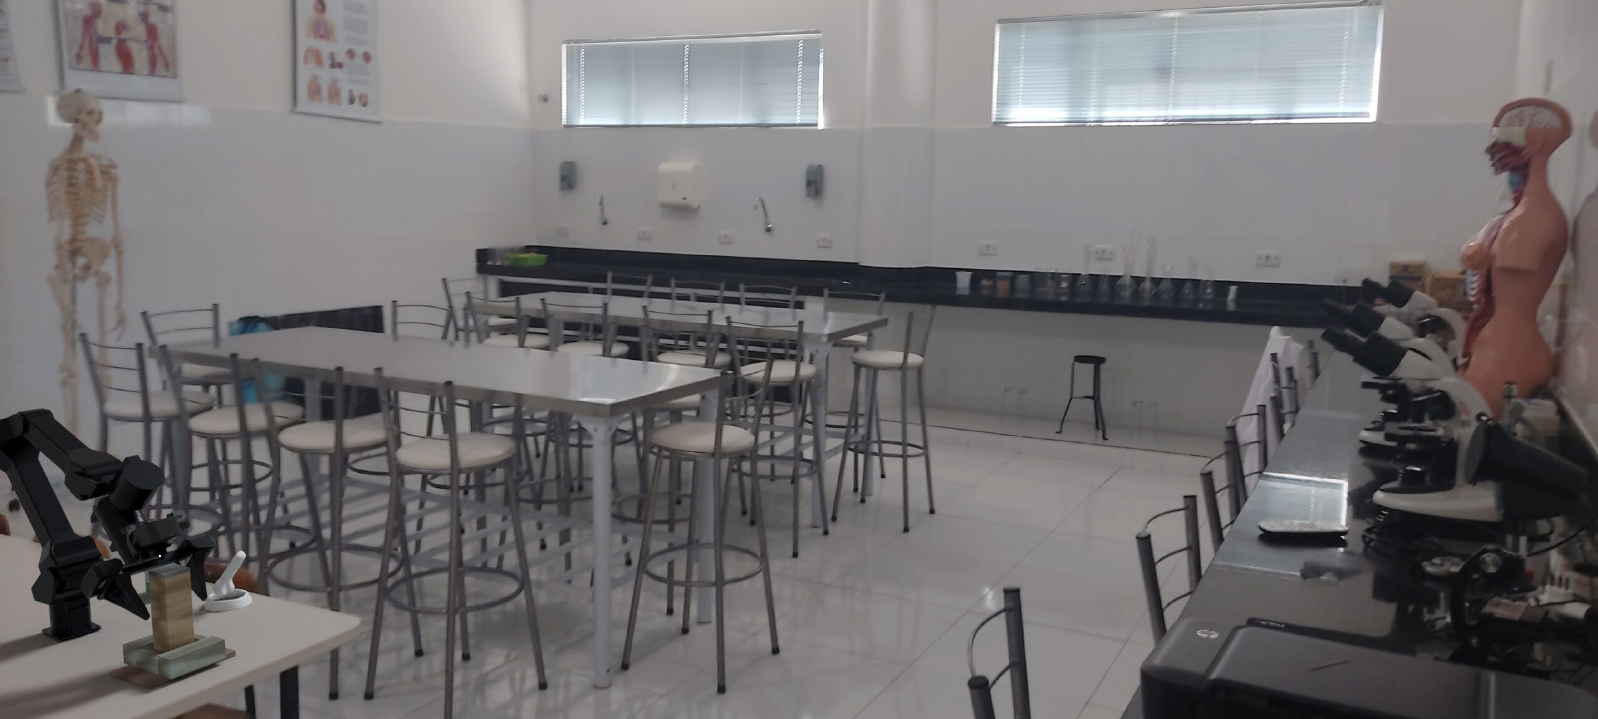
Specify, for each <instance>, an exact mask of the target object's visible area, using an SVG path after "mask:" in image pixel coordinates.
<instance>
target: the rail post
mask: <svg viewBox="0 0 1598 719" xmlns="http://www.w3.org/2000/svg"><path fill="white" fill-rule="evenodd" d="M148 573H149V587H150V595H149V598H150V599H149V600H150V613H151V615H150V617H151V628H152V634H153V644H154V653H157V654H160V655H161V654H163V653H166V652H169V651H172V650H174V649H177V648H180V647H183V646H185V645H188V644H191V643H194V642H195V639H194V633H195V624H194V611H193V596H192V590H191V577H190V568H189V567H185V566H182V565H178V564H174V563H173V564H170V565H166V566H163V567H159V568H156V569H153V570H149V571H148Z"/></svg>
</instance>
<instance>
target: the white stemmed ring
mask: <svg viewBox="0 0 1598 719" xmlns="http://www.w3.org/2000/svg"><path fill="white" fill-rule="evenodd" d="M246 556H247V554H246V553H245V552H244V551H243V550H239V551H238V552H237V553H236V554H235V555H234V556H233V558H232V559H231V561H230V562H229V564H228V565H227V567H226V569H225V570H224V572H223V573H222V574H221V576H220V578H219V579H217V581H215V584H214V585H212V588H211V590H212V592H213V593H211V594H210V595H209V594H208V598H207V599H206V601H204V602H205V603H204V605H203V608H204V610H206V611H208V610H211V611H210V612H216V611H219V612H220V611H222V612H230V610H231V611H235V610H240V609H243V608H245V607H247V605H248V606H250V603H251V604H252V603H253V598H252V596H251V595H250V592H248V591H247V590H245V589H240V588H235V585H234V583H233V578H234V576H235V574H236V573H237V571H238V570H239V569H240V567H241V566H242V564H243V562H244V561H245V558H246ZM225 597H228V598H235V599H229V600H221V598H222V599H226V598H225ZM217 599H218V600H217ZM214 600H215V601H214ZM219 612H218V613H219Z"/></svg>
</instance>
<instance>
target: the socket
mask: <svg viewBox="0 0 1598 719" xmlns="http://www.w3.org/2000/svg"><path fill="white" fill-rule="evenodd" d="M194 639H195V642H194V643H191V644H188V645H185V646H183V647H180V648H177V649H174V650H172V651H169V652H166V653H163V654H161V655H160V654H157V653H154V644H153V633H152V634H148V635H146V636H142V637H141V638H136V639H134V640H132V641H127V642H126V643H123V644H122V656H123V658H122V659H123V664H126V665H125V666H122V667H119V668H116V669H114V670H112V671H111V672H112V674H111V675H112V677H115V678H117V679H120V680H123V681H126V682H129V683H131V684H134V685H138V686H140V687H143V688H146V689H149V690H150V689H153V688H155V687H158V686H160V685H164V684H165V683H168V682H171V681H173V680H174V681H175V680H176V679H179V678H181V677H184V676H186V675H189V674H192V673H194V672H197V671H199V670H201V669H202V670H203V669H205V668H207V667H210V666H212V665H215V664H217V663H220V662H222V661H223V662H224V661H226V660H227V659H230V658H233V657H236V656H237V653H236V652H237V651H236V650H235V649H232V648H229V647H226V640H225V638H221V637H219V636H214V635H211V636H208V637H207V636H205V635H201V634H198V633H196V632H194Z"/></svg>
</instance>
